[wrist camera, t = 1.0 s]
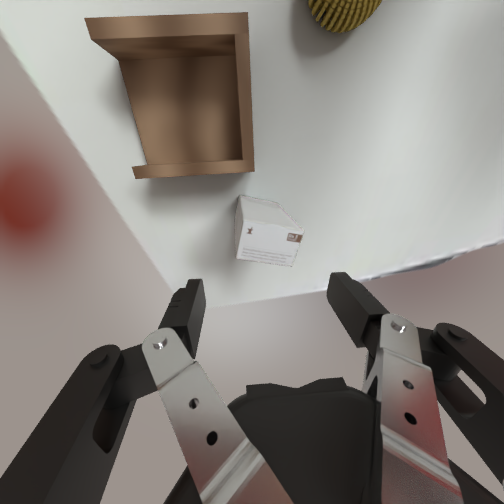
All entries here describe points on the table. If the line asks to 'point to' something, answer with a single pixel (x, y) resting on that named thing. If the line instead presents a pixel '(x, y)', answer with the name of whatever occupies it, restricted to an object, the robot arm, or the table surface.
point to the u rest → (185, 89)
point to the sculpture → (343, 13)
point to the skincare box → (265, 232)
